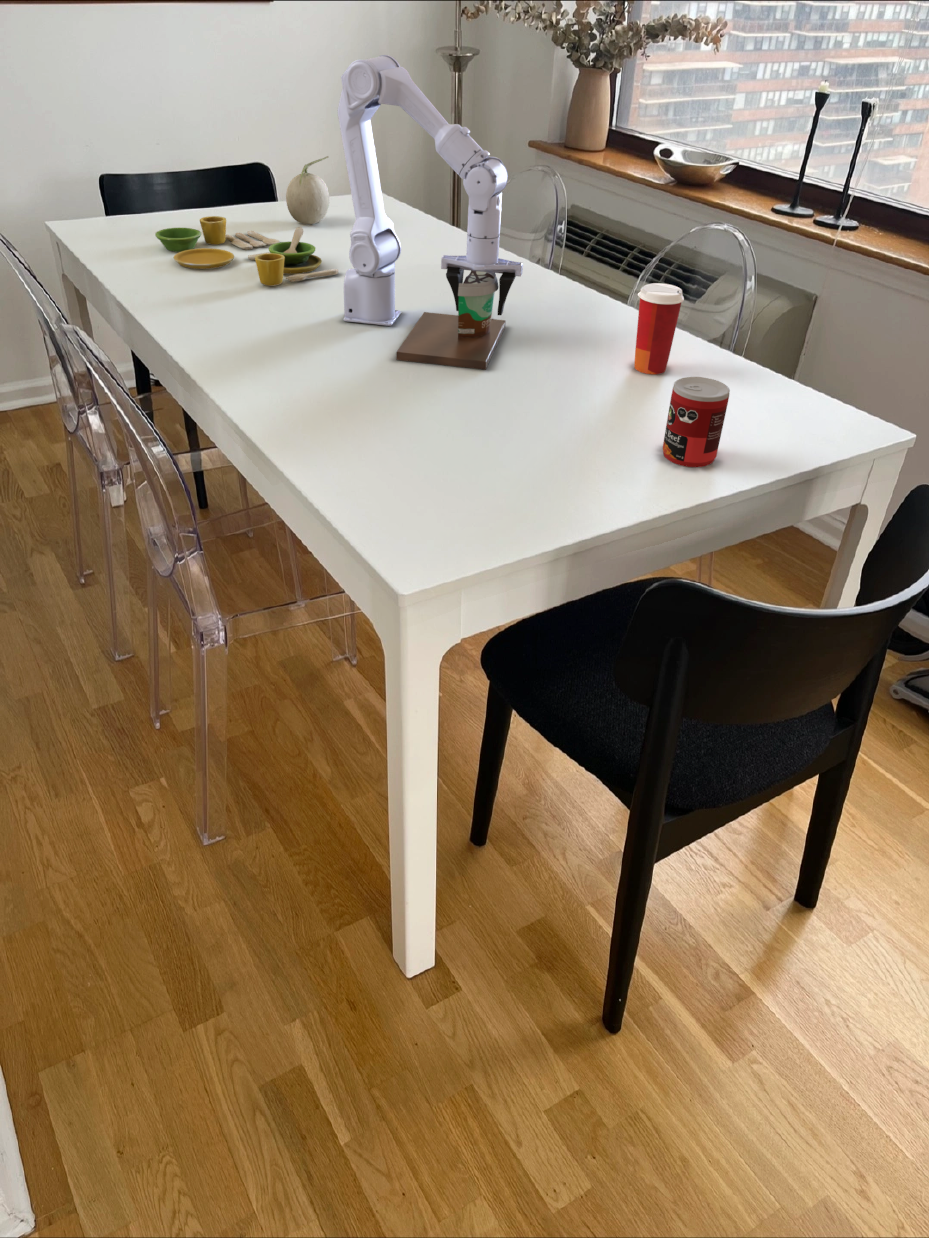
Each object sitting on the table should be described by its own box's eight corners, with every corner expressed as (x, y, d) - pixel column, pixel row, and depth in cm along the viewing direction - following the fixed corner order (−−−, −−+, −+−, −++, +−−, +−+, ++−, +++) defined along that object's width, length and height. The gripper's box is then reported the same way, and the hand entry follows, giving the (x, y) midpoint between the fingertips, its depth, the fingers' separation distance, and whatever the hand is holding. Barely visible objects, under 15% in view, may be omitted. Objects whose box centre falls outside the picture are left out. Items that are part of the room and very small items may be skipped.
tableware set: (345, 276, 210) (344, 246, 206) (227, 297, 196) (224, 265, 192) (254, 231, 236) (252, 203, 232) (144, 247, 222) (139, 218, 218)
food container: (489, 343, 177) (492, 287, 171) (456, 340, 177) (458, 284, 172) (501, 321, 186) (504, 268, 181) (469, 318, 187) (471, 264, 181)
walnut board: (396, 360, 172) (396, 351, 172) (424, 319, 190) (424, 312, 189) (485, 370, 170) (486, 361, 169) (505, 328, 188) (505, 320, 187)
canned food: (656, 445, 148) (667, 376, 142) (707, 445, 149) (721, 376, 143) (668, 468, 142) (681, 397, 136) (722, 468, 143) (737, 397, 137)
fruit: (281, 228, 240) (276, 161, 231) (295, 216, 249) (291, 152, 240) (322, 231, 238) (319, 165, 230) (335, 220, 248) (332, 155, 239)
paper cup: (674, 364, 176) (688, 286, 168) (667, 379, 170) (681, 299, 162) (632, 357, 178) (643, 279, 170) (623, 372, 172) (634, 292, 164)
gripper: (438, 236, 170) (436, 314, 178) (521, 244, 168) (515, 322, 176) (446, 226, 175) (444, 302, 183) (526, 234, 173) (521, 310, 181)
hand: (479, 311), depth 180 cm, fingers open, 7 cm apart
